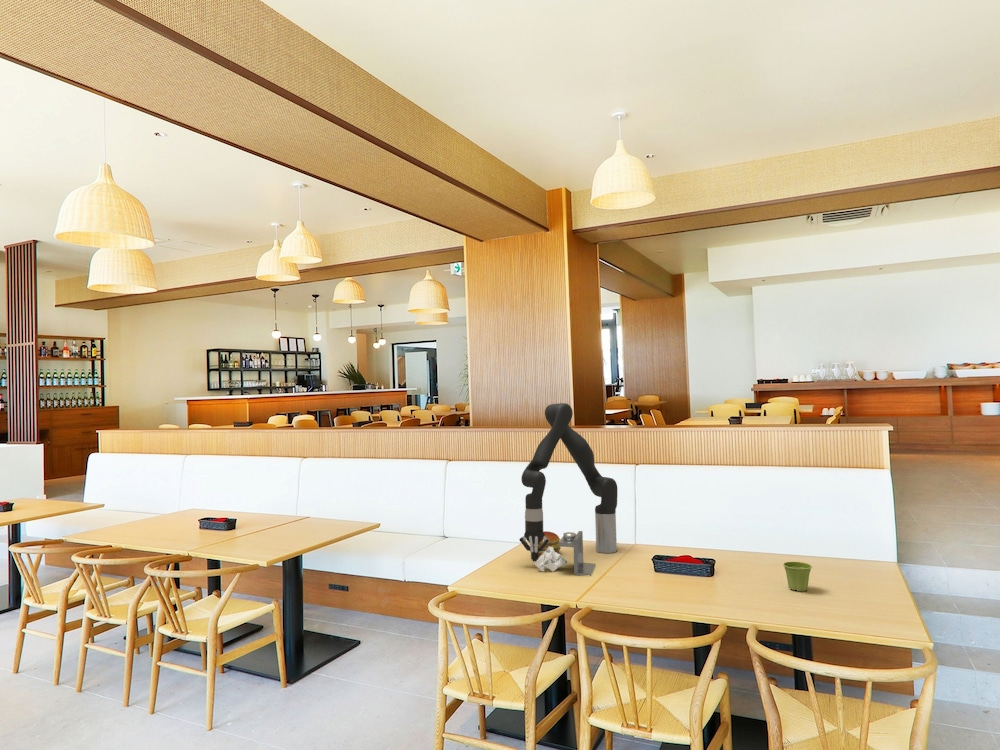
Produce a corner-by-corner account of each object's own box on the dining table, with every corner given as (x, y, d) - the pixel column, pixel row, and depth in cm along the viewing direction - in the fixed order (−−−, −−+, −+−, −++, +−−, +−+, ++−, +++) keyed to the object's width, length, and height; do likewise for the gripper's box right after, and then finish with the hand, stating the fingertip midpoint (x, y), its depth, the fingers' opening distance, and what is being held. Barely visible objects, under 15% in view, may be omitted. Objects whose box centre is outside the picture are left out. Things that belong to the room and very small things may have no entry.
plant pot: (816, 593, 224) (815, 568, 225) (787, 592, 226) (786, 568, 226) (808, 586, 233) (807, 561, 234) (780, 585, 235) (780, 561, 235)
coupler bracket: (565, 563, 271) (564, 529, 271) (595, 565, 268) (594, 530, 268) (559, 574, 256) (558, 537, 256) (590, 576, 252) (589, 538, 253)
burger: (561, 558, 281) (560, 535, 282) (530, 558, 282) (529, 535, 282) (560, 550, 295) (559, 528, 295) (530, 550, 295) (530, 528, 296)
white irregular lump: (566, 565, 256) (548, 548, 258) (551, 581, 257) (533, 563, 259) (569, 558, 268) (553, 541, 270) (555, 573, 269) (539, 556, 271)
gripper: (551, 517, 270) (552, 559, 269) (520, 516, 273) (521, 557, 273) (548, 521, 262) (548, 564, 262) (516, 520, 266) (517, 562, 265)
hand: (534, 560), depth 267 cm, fingers closed
